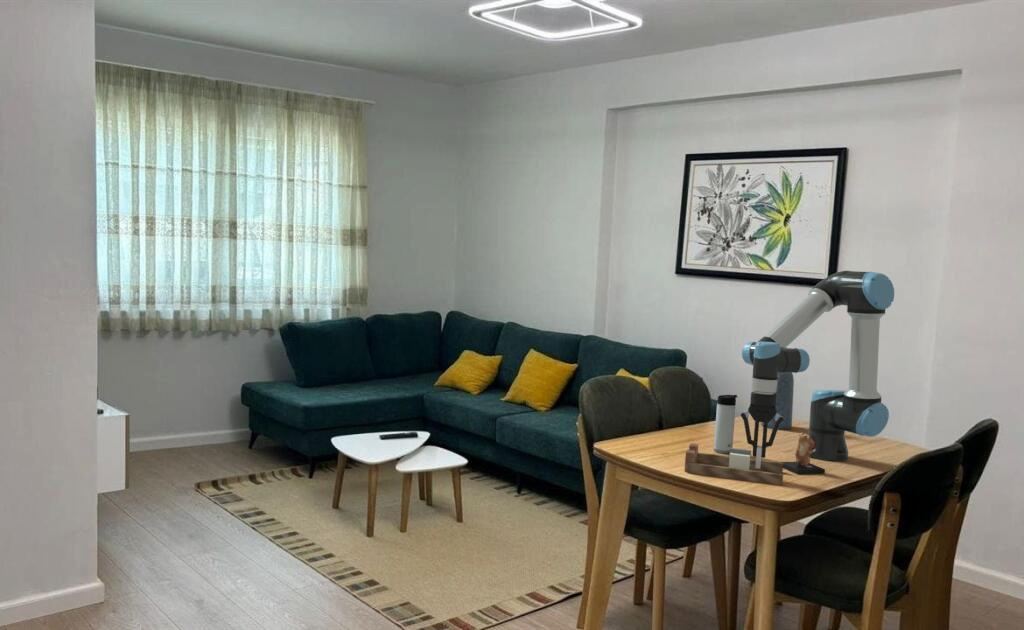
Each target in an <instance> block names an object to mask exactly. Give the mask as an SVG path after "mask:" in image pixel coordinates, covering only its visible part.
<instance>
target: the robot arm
mask: <svg viewBox="0 0 1024 630" xmlns="http://www.w3.org/2000/svg"><path fill="white" fill-rule="evenodd" d="M894 299H895V288H894V283H893V282H892V280H891V279H890V278H889V277H888V276H887V275H886V274H885V273H881V272H876V271H854V270H852V271H851V270H841V271H837V272H835V273H833V274H830V275H828V276H827V277H825V278H824V279H822V280H821V281H819V282H818V283H816V285H814V286H813V287H812V288H811V289H809V291H808V293H807V296H806V298H805V299H803V300H801V302H800V303H799V304H798V305H797V306H796V307H795V308H793V309H792V310H791V311H790V312H789V313H788V314H787V315H785V316H784V317H783V318H782V319H781V320H780V321H779V322H778V323H777V324H775V326H773V327H772V328H771V329H770V330H769V331H768V332H767V333H766V334H765V335H763V337H762V338H760V339H759V340H758V341H757V342H756V341H749V342H747V343H746V344H744V346H743V348H742V350H741V356H742V359H743V361H744V363H746V364H748V365H751V366H752V367H753V368H752V378H751V392H750V405H749V406H748V408H747V410H745V411H741V412H740V417H741V419H742V420H743V424H744V425H743V426H744V431H745V434H746V435H745V437H746V441H747V444H748V445H750V446H752V457H755V459H756V466H755V468H759V469H760V466H761V460H762V459H763V458H764V459H765V458H766V452H767V451H766V450H767V448H768V447H772V446H773V444H774V441H775V438H776V435H777V432H778V430H779V429H778V427H779V424H780V423H781V422H782V421H783V416H780V415H779V414H778V413H777V410H776V408H775V407H776V394H775V392H777V382H778V373H792V374H793V373H794V374H798V373H803V372H806V370H807V369H809V366H810V360H811V359H810V355H809V353H808V351H806V350H805V349H803V348H798V347H794V348H790V347H788V346H790V345H791V344H792V343H793V341H795V340H796V339H797V338H798V337H799V336H801V335H802V333H803V332H805V331H806V330H807V329H808V328H809V327H810V326H811V325H813V323H814V322H816V320H818V319H819V318H820V317H821V316H822V315H823V314H824V313H829V312H831V311H832V310H833V309H834V308H837V307H840V306H846V313H847V314H848V315H849V316H850V317H851V318H850V319H851V325H850V326H851V328H850V349H849V350H850V351H849V352H850V353H849V373H848V375H849V376H848V378H849V379H848V389H847V390H839V389H838V390H836V389H822V390H821V389H820V390H818V389H817V390H814V391H813V392H812V394H811V401H810V411H809V412H810V413H809V428H808V433H807V435H810V436H809V437H810V438H811V439H813V441H814V448H812V450H813V449H815V450H816V451H815V452H812V453H811V454H810V458H812V459H818V460H822V461H823V460H825V461H833V462H834V461H837V462H838V461H839V462H840V461H841V462H842V461H846V460H848V459H849V449H848V446H847V441H846V437H845V434H846V433H845V432H849V433H851V434H856V435H858V436H860V437H863V436H864V437H869V438H873V437H876V436H878V435H880V434H881V433H882V431H884V429H885V428H886V426H887V425H888V422H889V417H890V416H889V415H890V414H889V409H888V406H886V405H885V404H884V403H882V395H881V393H879V392H878V371H879V370H878V369H879V368H878V367H879V366H878V365H879V350H880V349H879V346H880V327H881V326H880V324H881V323H880V322H881V319H882V317H883V316H884V315H886V310H887V309H889V308H890V307H891V305H892V303H893V302H894ZM749 414H750V416H751V418H752V419H753V421H754V431H753V439H752V433H751V429H750V423H749V417H750V416H749ZM774 416H775V421H776V422H775V425H774V427H773V429H772V431H771V434H770V437H769V440H768V439H767V438H768V428H767V427H768V422H769V421H770V420H771V419H772V418H773V417H774ZM760 422H764V426H762V442H761V445H758V439H759V430H760Z"/></svg>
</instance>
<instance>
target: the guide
mask: <svg viewBox="0 0 1024 630" xmlns="http://www.w3.org/2000/svg"><path fill="white" fill-rule="evenodd" d="M729 458H730V455H725V454H724V455H723V454H715V453H706V452H701V451H700V452H699V444H698V443H689V446H688V449H686V451H685V458H684V472H686V473H687V474H694V475H700V476H701V475H702V476H710V477H715V478H722V479H723V478H725V479H732V480H739V481H747V482H753V483H754V482H755V483H764V484H770V485H779V486H783V481H784V473H783V471H784V468H783V463H781V462H782V461H772V460H763V459H761V466H760V469H759V468H755V466H756V458H750V466H749V470H746V469H738V468H730V467H729ZM698 462H699V463H698ZM706 463H707V464H706ZM714 464H715V465H714Z"/></svg>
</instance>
